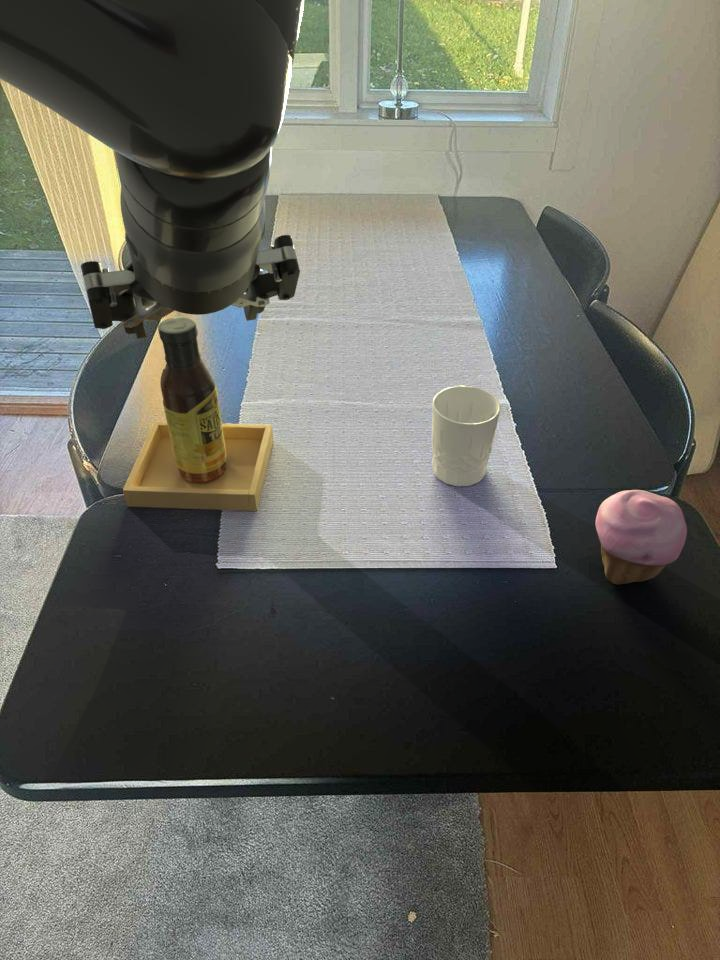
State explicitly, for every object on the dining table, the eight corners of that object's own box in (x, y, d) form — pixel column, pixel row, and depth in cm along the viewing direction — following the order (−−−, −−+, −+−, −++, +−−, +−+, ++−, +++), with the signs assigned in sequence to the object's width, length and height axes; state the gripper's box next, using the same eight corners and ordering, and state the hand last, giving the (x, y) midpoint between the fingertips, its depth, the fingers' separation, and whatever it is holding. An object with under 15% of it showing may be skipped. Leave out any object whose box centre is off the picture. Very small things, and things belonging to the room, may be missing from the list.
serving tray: (127, 506, 83) (122, 490, 81) (157, 436, 93) (153, 421, 92) (257, 511, 83) (254, 495, 81) (273, 440, 93) (272, 424, 91)
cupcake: (577, 539, 79) (596, 471, 72) (655, 542, 79) (682, 475, 72) (591, 601, 72) (615, 533, 66) (677, 605, 72) (709, 537, 65)
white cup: (430, 447, 92) (436, 382, 85) (491, 453, 91) (501, 388, 84) (424, 486, 86) (429, 420, 79) (489, 493, 85) (499, 427, 78)
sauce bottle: (219, 488, 85) (193, 344, 72) (170, 483, 85) (135, 339, 72) (235, 454, 90) (213, 313, 76) (188, 450, 90) (159, 309, 77)
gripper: (301, 149, 41) (271, 258, 57) (46, 175, 38) (89, 284, 53) (330, 271, 41) (292, 347, 57) (76, 309, 37) (111, 379, 53)
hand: (194, 317), depth 55 cm, fingers open, 8 cm apart
